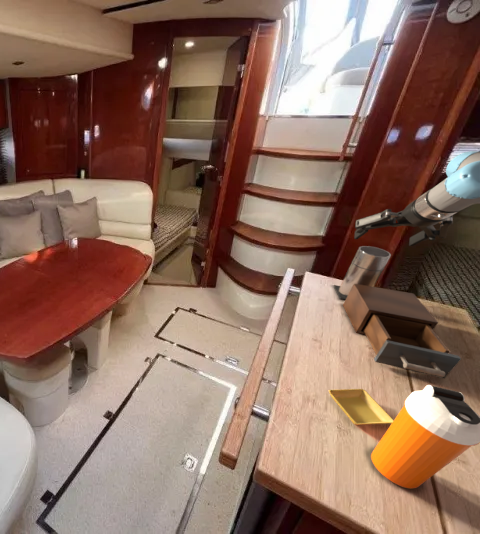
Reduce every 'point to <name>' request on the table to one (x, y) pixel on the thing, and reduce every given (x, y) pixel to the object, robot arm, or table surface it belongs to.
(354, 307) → the cabinet
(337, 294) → the coaster
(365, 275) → the metal cup
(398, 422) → the shaker bottle
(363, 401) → the yellow square tray
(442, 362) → the drawer
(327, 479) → the table surface
